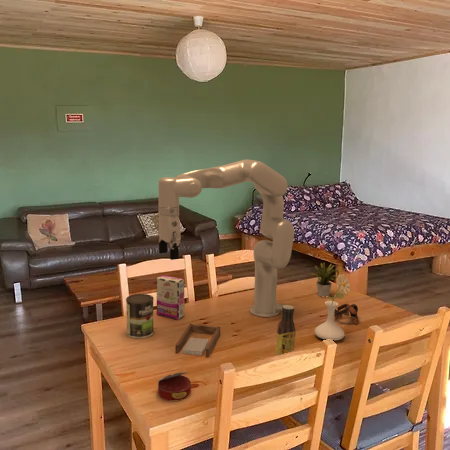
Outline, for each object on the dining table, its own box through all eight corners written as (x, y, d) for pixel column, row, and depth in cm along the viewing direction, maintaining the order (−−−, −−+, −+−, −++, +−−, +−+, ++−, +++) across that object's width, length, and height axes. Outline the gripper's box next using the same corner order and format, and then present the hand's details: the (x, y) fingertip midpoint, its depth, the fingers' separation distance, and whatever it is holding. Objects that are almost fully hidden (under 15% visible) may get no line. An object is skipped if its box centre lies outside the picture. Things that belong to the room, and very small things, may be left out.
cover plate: (208, 344, 177) (208, 339, 177) (201, 356, 168) (201, 351, 167) (190, 342, 179) (190, 337, 178) (182, 354, 169) (182, 349, 169)
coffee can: (159, 332, 185) (159, 298, 182) (137, 341, 177) (137, 305, 174) (142, 325, 192) (142, 291, 189) (121, 332, 184) (120, 298, 181)
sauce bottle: (281, 367, 161) (284, 311, 157) (271, 359, 166) (273, 305, 162) (297, 363, 164) (300, 308, 160) (286, 355, 169) (289, 302, 165)
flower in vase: (325, 345, 177) (330, 281, 172) (308, 333, 188) (312, 272, 182) (354, 340, 183) (359, 277, 177) (335, 328, 193) (340, 268, 187)
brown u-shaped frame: (220, 334, 185) (220, 326, 184) (208, 357, 167) (208, 349, 166) (190, 330, 187) (190, 323, 187) (175, 353, 169) (175, 345, 168)
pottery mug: (354, 329, 193) (345, 311, 193) (336, 331, 201) (327, 314, 200) (367, 313, 201) (358, 296, 201) (349, 316, 209) (341, 300, 208)
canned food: (161, 412, 143) (144, 385, 141) (171, 391, 152) (156, 365, 150) (193, 402, 139) (177, 374, 137) (201, 381, 148) (186, 354, 146)
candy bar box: (185, 316, 201) (185, 278, 198) (178, 320, 197) (178, 282, 193) (163, 310, 206) (162, 274, 203) (156, 314, 202) (155, 277, 198)
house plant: (331, 304, 218) (334, 269, 215) (303, 297, 226) (305, 264, 222) (342, 295, 230) (345, 262, 227) (315, 289, 237) (317, 257, 234)
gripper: (188, 214, 171) (188, 260, 175) (168, 206, 185) (167, 249, 189) (169, 216, 167) (169, 263, 171) (149, 208, 181) (150, 251, 185)
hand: (168, 256), depth 180 cm, fingers open, 9 cm apart
